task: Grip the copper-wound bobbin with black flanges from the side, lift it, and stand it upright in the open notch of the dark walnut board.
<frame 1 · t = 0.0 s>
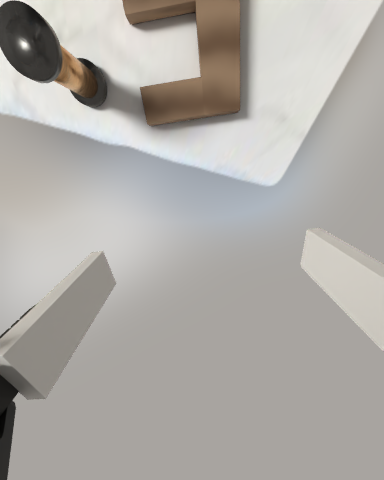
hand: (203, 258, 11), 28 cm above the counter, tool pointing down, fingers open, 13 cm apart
bobbin: (88, 85, 29), on the counter
notched board: (185, 51, 27), on the counter
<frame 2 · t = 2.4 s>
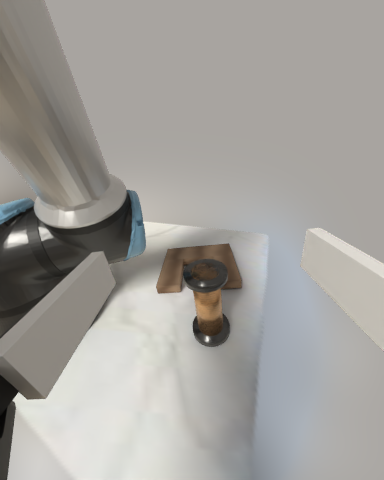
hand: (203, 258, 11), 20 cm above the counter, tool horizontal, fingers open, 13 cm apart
bobbin: (211, 328, 28), on the counter
notched board: (198, 268, 44), on the counter
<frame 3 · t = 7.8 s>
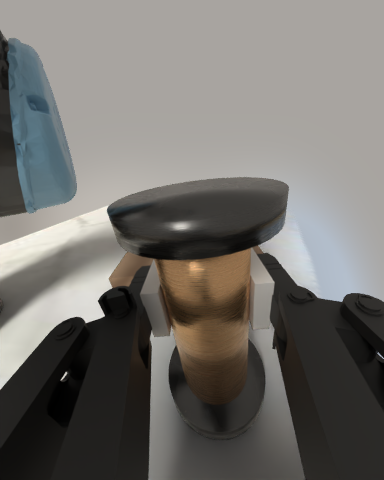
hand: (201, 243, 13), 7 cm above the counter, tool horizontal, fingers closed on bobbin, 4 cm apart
bobbin: (215, 373, 11), on the counter, touching gripper
notched board: (190, 250, 27), on the counter
when the fingers open (8 cm above the counter, at t = 12.7 s): bobbin drops 1 cm, resting in notched board.
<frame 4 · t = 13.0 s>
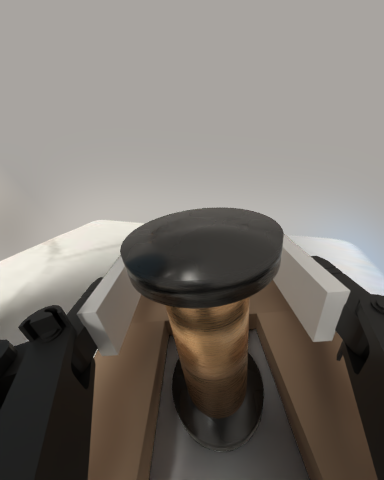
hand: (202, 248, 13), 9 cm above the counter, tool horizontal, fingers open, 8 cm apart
bobbin: (216, 385, 12), resting in notched board
notched board: (213, 354, 14), on the counter
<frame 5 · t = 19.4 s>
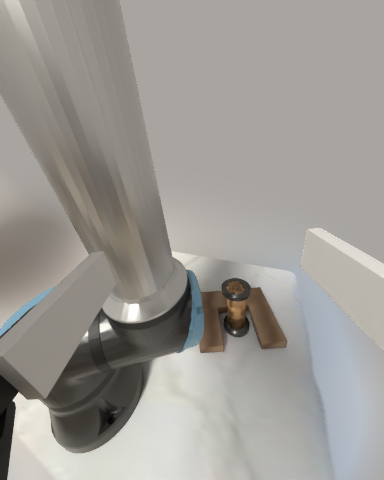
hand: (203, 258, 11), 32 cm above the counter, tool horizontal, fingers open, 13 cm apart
bobbin: (236, 325, 42), resting in notched board
notched board: (234, 318, 43), on the counter
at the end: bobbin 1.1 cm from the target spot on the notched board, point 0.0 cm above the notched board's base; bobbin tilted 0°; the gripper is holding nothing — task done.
